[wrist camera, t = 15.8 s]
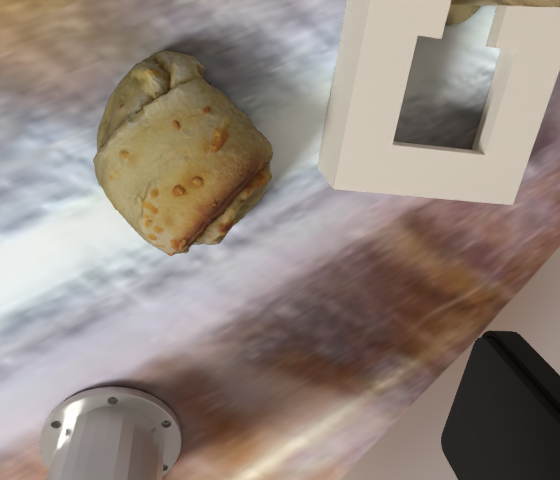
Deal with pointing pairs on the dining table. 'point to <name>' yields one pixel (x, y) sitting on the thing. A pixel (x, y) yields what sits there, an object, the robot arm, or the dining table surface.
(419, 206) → the dining table surface
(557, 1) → the bolt
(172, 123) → the pastry
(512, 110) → the keyhole box
